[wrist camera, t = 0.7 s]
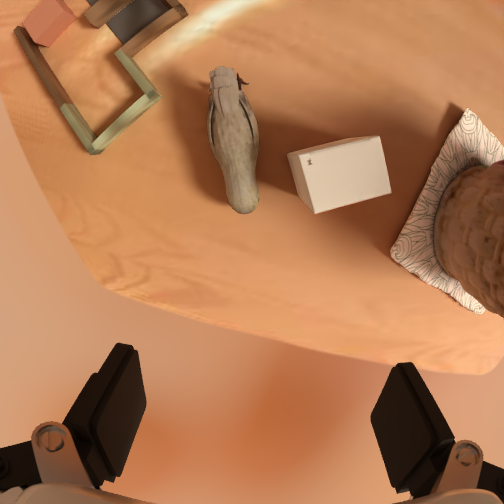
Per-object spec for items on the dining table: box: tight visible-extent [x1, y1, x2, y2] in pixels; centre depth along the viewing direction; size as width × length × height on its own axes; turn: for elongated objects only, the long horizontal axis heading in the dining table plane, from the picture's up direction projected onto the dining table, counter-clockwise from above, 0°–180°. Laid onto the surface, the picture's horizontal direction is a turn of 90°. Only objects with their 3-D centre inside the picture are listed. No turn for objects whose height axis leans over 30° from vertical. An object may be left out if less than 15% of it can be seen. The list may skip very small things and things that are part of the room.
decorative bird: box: [207, 66, 259, 214], centre depth 31 cm, size 5×16×8 cm, turn 8°
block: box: [23, 0, 77, 47], centre depth 26 cm, size 6×6×4 cm
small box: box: [286, 136, 391, 214], centre depth 30 cm, size 8×6×10 cm
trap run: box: [14, 0, 188, 155], centre depth 28 cm, size 20×28×2 cm
